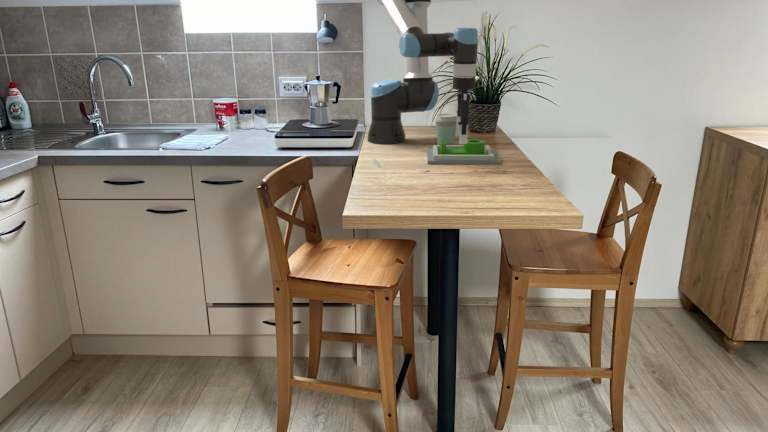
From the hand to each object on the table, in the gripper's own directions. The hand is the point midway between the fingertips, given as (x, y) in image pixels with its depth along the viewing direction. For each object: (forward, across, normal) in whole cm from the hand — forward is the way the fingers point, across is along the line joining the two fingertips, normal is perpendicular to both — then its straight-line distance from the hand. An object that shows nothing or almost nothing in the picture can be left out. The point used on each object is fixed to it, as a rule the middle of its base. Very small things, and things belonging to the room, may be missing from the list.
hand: (461, 139), depth 201 cm
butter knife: (+7, -17, +27) cm, 32 cm away
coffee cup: (+7, +16, +5) cm, 18 cm away
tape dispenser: (+5, -1, 0) cm, 5 cm away
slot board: (+6, -1, 0) cm, 6 cm away
